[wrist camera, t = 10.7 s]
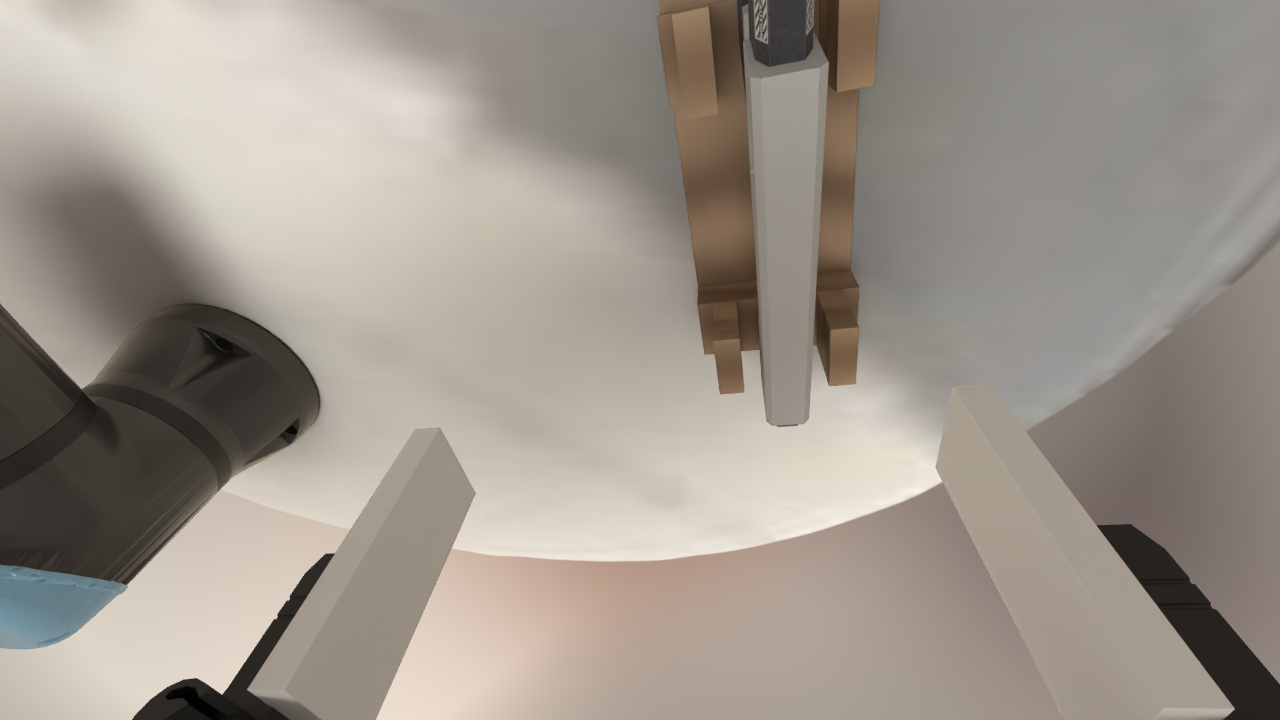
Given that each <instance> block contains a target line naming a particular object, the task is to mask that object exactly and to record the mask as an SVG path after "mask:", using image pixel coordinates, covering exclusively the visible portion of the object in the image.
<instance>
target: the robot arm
mask: <svg viewBox="0 0 1280 720" xmlns="http://www.w3.org/2000/svg"><path fill="white" fill-rule="evenodd" d="M318 411H319V398H318V393H317V390H316V387H315V385H314V382H313V380H312V378H311V377H310V375H309V373H308V372H307V370H306V369H305V367H304V366H303V365H302V363H301V362H300V361H299V360H298V358H297V357H296V356H295V355H294V354H293V353H292V352H291V351H290V350H289V349H288V348H287V347H286V346H285V345H284V344H282V343H281V342H280V341H279V340H278V339H276V338H275V337H274V336H272V335H271V334H270V333H268V332H267V331H265V330H264V329H262V328H261V327H259V326H257V325H256V324H254V323H252V322H250V321H248V320H246V319H244V318H242V317H240V316H238V315H235V314H233V313H230V312H228V311H225V310H222V309H218V308H214V307H210V306H205V305H197V304H183V305H176V306H172V307H169V308H167V309H165V310H163V311H161V312H159V313H158V314H156V315H154V316H152V317H151V318H149V319H147V320H146V321H144V322H142V323H141V324H140V325H139V326H137V327H136V328H135V329H134V330H133V331H132V332H131V334H130V335H129V336H128V338H127V339H126V340H125V341H124V343H123V344H122V345H121V347H120V348H119V349H118V350H117V352H116V353H115V354H114V355H113V357H112V358H111V359H110V361H109V362H108V363H107V364H106V366H105V367H104V368H103V370H102V371H101V372H100V373H99V375H98V376H97V377H96V379H95V380H94V381H93V382H92V383H90V384H89V385H88V386H86V387H84V388H83V389H80V387H79V386H78V385H77V384H76V383H75V382H74V381H73V380H72V379H71V378H70V377H69V376H68V375H67V374H66V373H65V372H64V371H63V370H62V369H61V368H60V366H59V365H58V364H57V363H56V362H55V361H54V360H53V359H52V358H51V357H50V356H49V355H48V354H47V353H46V352H45V351H44V350H43V349H42V348H41V347H40V346H39V345H38V344H37V343H36V342H35V341H34V340H33V339H32V337H31V336H30V335H29V334H28V333H27V332H26V331H25V330H24V329H23V328H22V327H21V326H20V325H19V323H18V322H17V321H16V320H15V319H14V318H13V317H12V316H11V315H10V314H9V313H8V312H7V311H6V309H5V308H4V307H3V306H2V305H1V304H0V648H7V649H35V648H41V647H46V646H49V645H52V644H56V643H58V642H60V641H62V640H64V639H66V638H68V637H70V636H71V635H72V634H74V633H75V632H77V631H78V630H79V629H80V628H81V627H82V626H84V625H85V624H86V623H87V622H88V621H89V620H90V619H91V618H93V617H94V616H95V615H96V614H97V613H98V612H99V611H100V610H102V609H103V608H104V607H105V606H106V605H107V604H108V603H109V602H110V601H112V600H113V599H114V598H115V597H116V596H117V595H119V594H121V593H123V592H124V591H125V590H126V589H127V588H128V586H127V584H128V583H129V582H130V581H131V580H132V579H133V578H134V577H135V576H136V575H137V574H138V573H139V572H140V571H141V570H142V569H143V568H144V567H145V566H146V565H147V564H148V563H149V562H150V561H151V560H152V559H153V558H154V557H155V556H156V555H157V554H158V553H159V552H160V551H161V550H162V549H163V548H164V547H165V546H166V545H167V543H169V542H170V540H171V539H172V538H173V537H174V536H175V535H176V534H177V533H178V532H179V531H180V530H181V529H182V528H183V527H184V526H185V525H186V524H187V523H188V522H189V521H190V520H191V519H192V518H193V517H194V516H195V515H196V514H197V513H198V512H199V511H200V510H201V509H202V507H204V506H205V505H206V503H208V501H210V500H211V498H212V497H213V496H214V495H215V494H216V493H217V492H218V491H219V490H220V489H221V488H222V487H223V486H224V485H225V484H226V483H227V482H228V481H229V480H230V479H231V478H232V477H233V476H235V475H237V474H238V473H240V472H242V471H244V470H246V469H248V468H249V467H251V466H253V465H255V464H257V463H259V462H260V461H262V460H264V459H266V458H268V457H269V456H271V455H273V454H275V453H277V452H279V451H280V450H282V449H284V448H286V447H288V446H289V445H291V444H292V443H294V442H295V441H296V440H298V439H299V438H300V437H301V435H302V434H303V433H304V432H305V431H306V430H307V429H308V428H309V427H310V426H311V425H312V424H313V422H314V421H315V419H316V417H317V415H318ZM936 469H937V471H938V473H939V475H940V477H941V479H942V481H943V483H944V485H945V487H946V489H947V491H948V493H949V495H950V497H951V499H952V501H953V503H954V505H955V507H956V509H957V511H958V513H959V515H960V517H961V519H962V521H963V523H964V524H965V527H966V528H967V530H968V532H969V534H970V536H971V538H972V540H973V542H974V544H975V546H976V548H977V550H978V552H979V554H980V556H981V558H982V560H983V562H984V564H985V566H986V568H987V570H988V572H989V574H990V576H991V578H992V580H993V582H994V584H995V586H996V587H997V590H998V591H999V593H1000V595H1001V597H1002V599H1003V601H1004V603H1005V605H1006V607H1007V609H1008V611H1009V613H1010V615H1011V617H1012V619H1013V621H1014V623H1015V625H1016V627H1017V629H1018V631H1019V633H1020V635H1021V637H1022V639H1023V640H1024V643H1025V645H1026V647H1027V648H1028V651H1029V652H1030V654H1031V656H1032V658H1033V660H1034V662H1035V664H1036V666H1037V668H1038V670H1039V672H1040V674H1041V676H1042V678H1043V680H1044V682H1045V684H1046V686H1047V688H1048V690H1049V692H1050V694H1051V696H1052V697H1053V700H1054V702H1055V703H1056V706H1057V708H1058V709H1059V712H1060V713H1061V715H1062V717H1063V719H1064V720H1280V684H1279V683H1278V682H1277V681H1276V679H1274V677H1273V676H1272V675H1271V674H1270V672H1269V671H1268V670H1267V669H1266V668H1265V666H1264V665H1263V664H1262V663H1261V662H1260V661H1259V659H1258V658H1257V657H1256V656H1255V655H1254V653H1253V652H1252V651H1251V650H1250V649H1249V648H1248V646H1247V645H1246V644H1245V643H1244V642H1243V640H1242V639H1241V638H1240V637H1239V636H1238V635H1237V633H1236V632H1235V631H1234V630H1233V629H1232V627H1231V626H1230V625H1229V624H1228V623H1227V622H1226V620H1225V619H1224V618H1223V617H1222V616H1221V615H1220V613H1219V612H1218V611H1217V610H1216V609H1213V608H1212V607H1211V605H1210V604H1211V603H1210V602H1209V600H1208V599H1207V598H1206V597H1205V596H1204V594H1203V593H1202V592H1201V591H1200V590H1199V589H1198V587H1197V586H1196V585H1195V584H1191V583H1190V580H1189V579H1190V578H1189V577H1188V576H1187V574H1186V573H1185V572H1184V571H1183V570H1182V569H1181V567H1179V565H1178V564H1177V563H1176V562H1175V560H1174V559H1173V558H1172V557H1171V556H1170V555H1169V553H1168V552H1167V551H1166V550H1165V549H1164V548H1163V547H1161V546H1160V545H1159V544H1157V543H1156V542H1155V541H1153V540H1152V539H1150V538H1149V537H1148V536H1146V535H1145V534H1143V533H1142V532H1141V531H1139V530H1138V529H1136V528H1135V527H1134V526H1132V525H1131V524H1123V525H1096V524H1095V523H1094V522H1093V521H1092V519H1091V518H1090V517H1089V515H1088V514H1087V513H1086V511H1085V510H1084V509H1083V507H1082V506H1081V505H1080V503H1079V502H1078V501H1077V499H1076V498H1075V497H1074V495H1073V494H1072V493H1071V491H1070V490H1069V489H1068V487H1067V486H1066V485H1065V484H1064V482H1063V481H1062V480H1061V478H1060V477H1059V476H1058V474H1057V473H1056V472H1055V470H1054V469H1053V468H1052V466H1051V465H1050V464H1049V462H1048V461H1047V460H1046V459H1045V457H1044V456H1043V454H1042V453H1041V452H1040V450H1039V449H1038V448H1037V447H1036V445H1035V444H1034V442H1033V441H1032V440H1031V439H1030V437H1029V436H1028V435H1027V433H1026V432H1025V431H1024V429H1023V428H1022V427H1021V425H1020V424H1019V423H1018V421H1017V420H1016V419H1015V417H1014V416H1013V415H1012V413H1011V412H1010V411H1009V409H1008V408H1007V407H1006V405H1005V404H1004V403H1003V401H1002V400H1001V399H1000V397H999V396H998V395H997V394H996V392H995V391H994V390H993V388H992V387H991V386H990V384H989V383H982V384H970V385H957V386H952V390H951V395H950V400H949V405H948V410H947V415H946V419H945V424H944V429H943V434H942V439H941V444H940V449H939V454H938V458H937V463H936ZM475 494H476V493H475V491H474V489H473V487H472V486H471V484H470V482H469V480H468V478H467V476H466V475H465V473H464V471H463V469H462V467H461V465H460V463H459V462H458V460H457V458H456V456H455V454H454V452H453V451H452V449H451V447H450V445H449V443H448V441H447V440H446V438H445V436H444V434H443V432H442V430H441V428H428V429H416V430H415V431H414V432H413V434H412V435H411V437H410V438H409V440H408V442H407V443H406V445H405V446H404V448H403V449H402V451H401V452H400V454H399V455H398V457H397V459H396V460H395V462H394V463H393V465H392V466H391V468H390V469H389V471H388V472H387V474H386V476H385V477H384V479H383V480H382V482H381V483H380V485H379V486H378V488H377V489H376V491H375V493H374V494H373V496H372V497H371V499H370V500H369V502H368V503H367V505H366V507H365V508H364V510H363V511H362V513H361V514H360V516H359V517H358V519H357V520H356V522H355V524H354V525H353V527H352V528H351V530H350V531H349V533H348V534H347V536H346V538H345V539H344V541H343V542H342V544H341V545H340V547H339V548H338V550H337V551H336V553H334V554H325V555H324V556H323V557H322V558H321V559H320V560H319V561H318V562H317V563H316V564H315V565H314V566H312V567H311V569H309V570H308V571H307V572H306V573H305V575H304V576H303V577H302V579H301V580H300V582H299V584H298V585H297V586H296V588H295V589H294V591H293V592H292V594H291V595H290V600H289V601H286V603H285V604H284V606H283V607H282V609H281V610H280V611H279V613H278V614H277V615H278V618H277V619H274V620H273V622H272V623H271V625H270V626H269V628H268V629H267V631H266V632H265V634H264V635H263V637H262V638H261V640H260V641H259V642H258V644H257V646H256V647H255V648H254V650H253V651H252V653H251V654H250V656H249V657H248V659H247V660H246V662H245V663H244V665H243V666H242V668H241V669H240V671H239V672H238V674H237V675H236V676H235V678H234V680H233V681H232V683H231V684H230V685H229V687H228V688H227V689H226V691H225V692H224V693H223V695H221V694H220V693H219V692H217V691H216V690H214V689H213V688H211V687H210V686H209V685H207V684H206V683H204V682H202V681H200V680H199V679H197V678H194V679H186V680H182V681H180V682H178V683H175V684H173V685H171V686H169V687H167V688H166V689H164V690H163V691H162V692H160V693H159V694H157V695H156V696H155V697H153V698H152V699H151V700H150V701H149V702H148V703H147V704H146V705H145V706H144V707H143V708H142V709H141V710H140V711H139V712H138V713H137V714H136V715H135V716H134V718H133V719H132V720H376V718H377V715H378V713H379V711H380V709H381V706H382V704H383V702H384V700H385V697H386V695H387V693H388V691H389V688H390V686H391V684H392V682H393V679H394V677H395V675H396V673H397V670H398V668H399V666H400V663H401V661H402V659H403V657H404V654H405V652H406V650H407V648H408V645H409V643H410V640H411V639H412V636H413V634H414V632H415V629H416V627H417V625H418V623H419V620H420V618H421V616H422V613H423V611H424V609H425V607H426V605H427V602H428V600H429V598H430V596H431V593H432V591H433V589H434V586H435V584H436V582H437V580H438V577H439V575H440V573H441V570H442V568H443V566H444V564H445V562H446V559H447V557H448V555H449V553H450V550H451V548H452V546H453V544H454V541H455V539H456V537H457V534H458V532H459V530H460V528H461V525H462V523H463V521H464V519H465V516H466V514H467V512H468V510H469V507H470V505H471V503H472V501H473V498H474V496H475Z"/></svg>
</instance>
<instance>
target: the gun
mask: <svg viewBox="0 0 1280 720" xmlns="http://www.w3.org/2000/svg"><path fill="white" fill-rule="evenodd" d="M814 8H815V0H737V9H738V25H739V42H740V53H741V62H742V71H743V81H744V90H745V100H746V109H747V123H748V142H749V160H750V178H751V196H752V211H753V222H754V237H755V256H756V275H757V293H758V312H759V318H758V325H759V343H760V361H761V378H762V387H763V395H764V404H765V412H766V421H767V422H768V423H769V424H771V425H772V426H777V427H783V426H797V425H798V424H804V423H805V422H806V421H807V420H808V419H809V406H810V388H811V370H812V353H813V335H814V317H815V299H816V282H817V264H818V246H819V228H820V211H821V193H822V175H823V157H824V140H825V122H826V104H827V86H828V69H829V62H828V60H827V58H826V56H825V54H824V51H823V49H822V47H821V45H820V43H819V41H818V39H817V37H816V35H815V33H814Z"/></svg>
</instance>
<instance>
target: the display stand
mask: <svg viewBox="0 0 1280 720" xmlns="http://www.w3.org/2000/svg"><path fill="white" fill-rule="evenodd" d="M879 3H880V0H815V8H814V33H815V35H816V37H817V39H818V41H819V43H820V45H821V47H822V49H823V51H824V54H825V56H826V58H827V60H828V62H829V69H828V86H827V104H826V122H825V140H824V157H823V175H822V193H821V211H820V228H819V246H818V264H817V282H816V299H815V317H814V335H813V345H816V344H817V348H818V351H819V354H820V358H821V361H822V364H823V367H824V371H825V374H826V377H827V381H828V384H829V386H837V385H851V384H856V370H857V354H858V338H859V326H858V323H857V316H858V299H859V286H858V284H857V282H856V280H855V278H854V276H853V274H852V272H851V270H850V265H851V244H852V223H853V202H854V181H855V160H856V139H857V118H858V97H859V88H864V87H869V86H874V83H875V67H876V51H877V35H878V19H879ZM659 4H660V12H661V15H659V16H657V21H658V28H659V35H660V42H661V49H662V56H663V63H664V70H665V78H666V85H667V92H668V99H669V106H674V114H675V121H676V128H677V135H678V143H679V150H680V157H681V165H682V172H683V179H684V186H685V194H686V201H687V208H688V215H689V223H690V230H691V237H692V245H693V252H694V259H695V266H696V274H697V281H698V311H699V318H700V325H701V332H702V339H703V346H704V353H705V354H715V359H716V367H717V374H718V382H719V390H720V394H730V393H743V392H744V382H743V370H742V358H741V351H750V350H760V343H759V325H758V318H759V312H758V293H757V275H756V256H755V237H754V222H753V211H752V196H751V178H750V160H749V142H748V123H747V109H746V100H745V90H744V81H743V71H742V62H741V53H740V42H739V25H738V9H737V0H659Z"/></svg>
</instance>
